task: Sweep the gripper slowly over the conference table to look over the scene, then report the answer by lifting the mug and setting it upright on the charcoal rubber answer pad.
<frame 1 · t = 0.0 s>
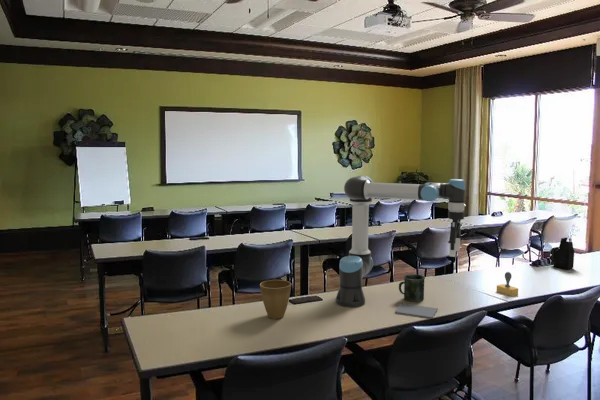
hand: (454, 253, 248), 28 cm above the table, tool pointing down, fingers open, 13 cm apart
answer pad: (416, 311, 247), on the table
plant pot: (275, 316, 240), on the table
camera: (560, 267, 333), on the table
mug: (411, 299, 266), on the table
rubber stamp: (507, 293, 277), on the table
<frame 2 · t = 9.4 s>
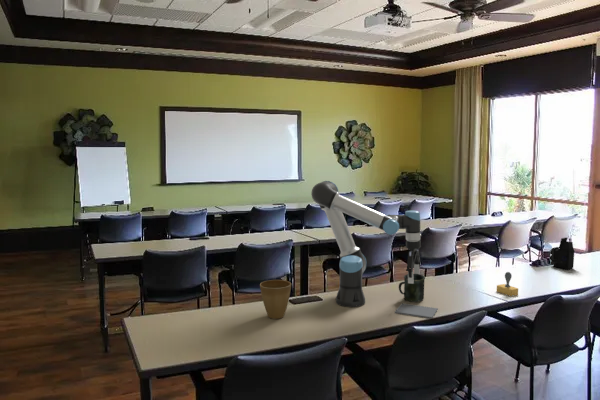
hand: (413, 279, 265), 10 cm above the table, tool pointing down, fingers open, 13 cm apart
nothing on the table moved.
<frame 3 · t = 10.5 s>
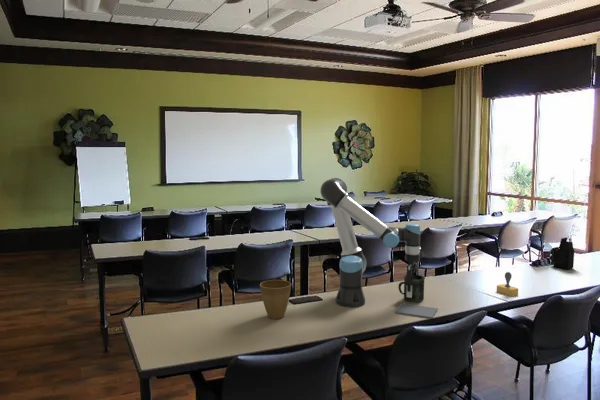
hand: (411, 294, 266), 3 cm above the table, tool pointing down, fingers closed on mug, 11 cm apart
mug: (410, 299, 266), on the table, touching gripper
everything else where it was.
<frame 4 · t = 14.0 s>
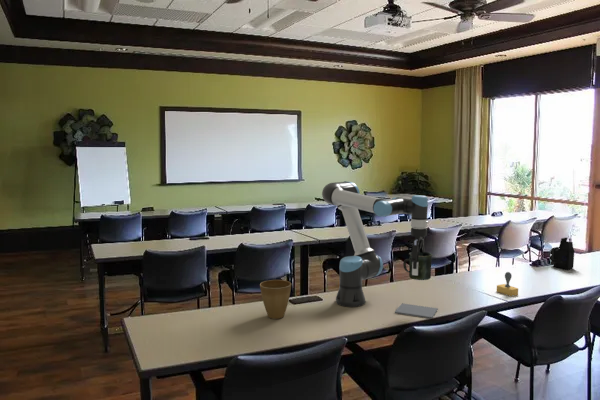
hand: (417, 272, 245), 20 cm above the table, tool pointing down, fingers closed on mug, 11 cm apart
mug: (416, 278, 244), point 17 cm above the table, touching gripper
everything else where it was.
when the fingers open (5 cm above the table, at t = 17.3 s): mug drops 1 cm, resting on answer pad.
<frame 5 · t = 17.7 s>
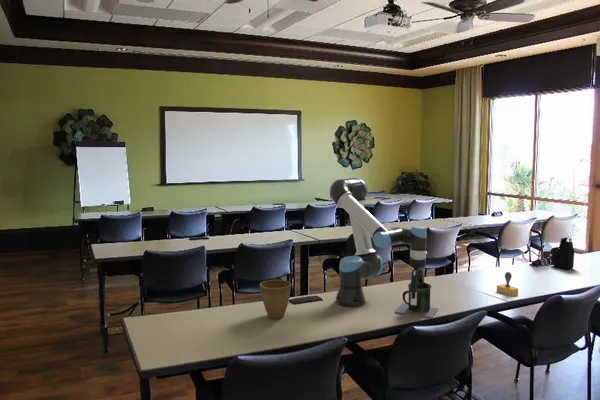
hand: (416, 300, 246), 5 cm above the table, tool pointing down, fingers open, 13 cm apart
mug: (416, 309, 247), point 1 cm above the table, touching answer pad, gripper
everything else where it was.
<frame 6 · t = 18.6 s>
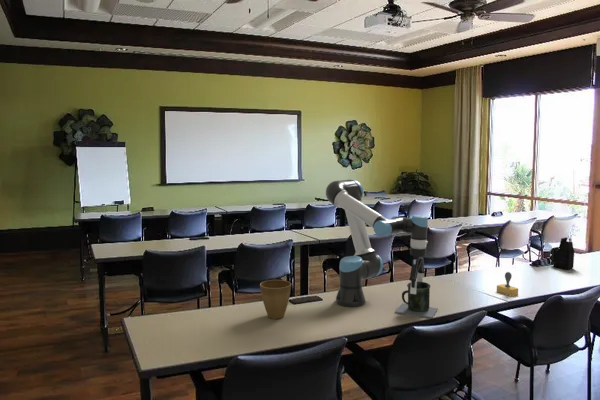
hand: (416, 289, 246), 11 cm above the table, tool pointing down, fingers open, 13 cm apart
mug: (415, 309, 248), point 1 cm above the table, touching answer pad
everything else where it was.
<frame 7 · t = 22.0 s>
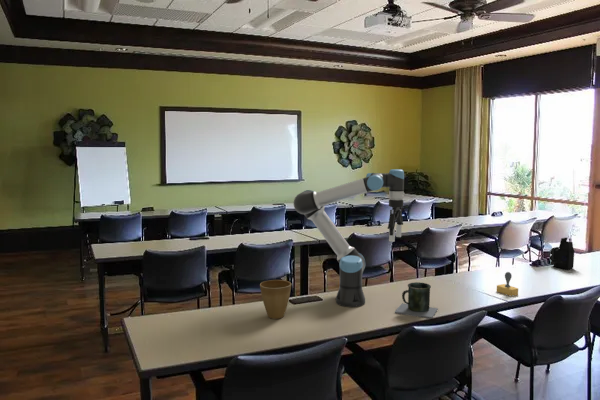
hand: (395, 239, 265), 32 cm above the table, tool pointing down, fingers open, 13 cm apart
nothing on the table moved.
at the end: mug inside the target area on the answer pad (0.9 cm from its centre), point 0.6 cm above the answer pad's base; mug tilted 0°; the gripper is holding nothing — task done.
